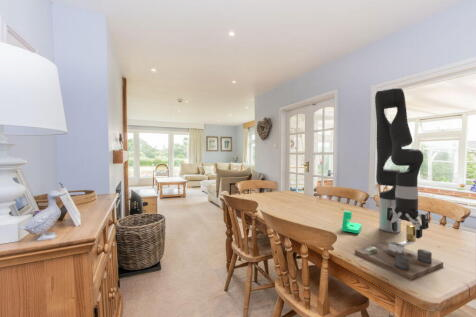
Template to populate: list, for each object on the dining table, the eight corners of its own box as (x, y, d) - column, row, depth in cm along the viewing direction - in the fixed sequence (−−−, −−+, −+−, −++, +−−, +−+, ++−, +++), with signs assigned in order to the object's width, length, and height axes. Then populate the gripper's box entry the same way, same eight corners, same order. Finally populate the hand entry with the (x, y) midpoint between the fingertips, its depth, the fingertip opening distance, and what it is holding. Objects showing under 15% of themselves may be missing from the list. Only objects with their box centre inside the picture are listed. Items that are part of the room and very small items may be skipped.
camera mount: (358, 235, 110) (358, 215, 110) (342, 232, 115) (342, 213, 115) (361, 228, 120) (361, 210, 120) (346, 226, 125) (346, 208, 124)
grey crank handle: (399, 259, 82) (399, 233, 82) (385, 253, 87) (385, 228, 86) (420, 251, 88) (420, 227, 87) (406, 246, 92) (406, 223, 92)
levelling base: (384, 244, 99) (384, 233, 99) (443, 266, 80) (443, 252, 80) (354, 253, 91) (354, 241, 91) (411, 280, 72) (411, 265, 72)
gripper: (432, 198, 86) (431, 238, 86) (393, 192, 98) (393, 228, 99) (422, 200, 82) (421, 242, 83) (383, 194, 95) (383, 230, 96)
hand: (406, 234), depth 91 cm, fingers open, 8 cm apart
